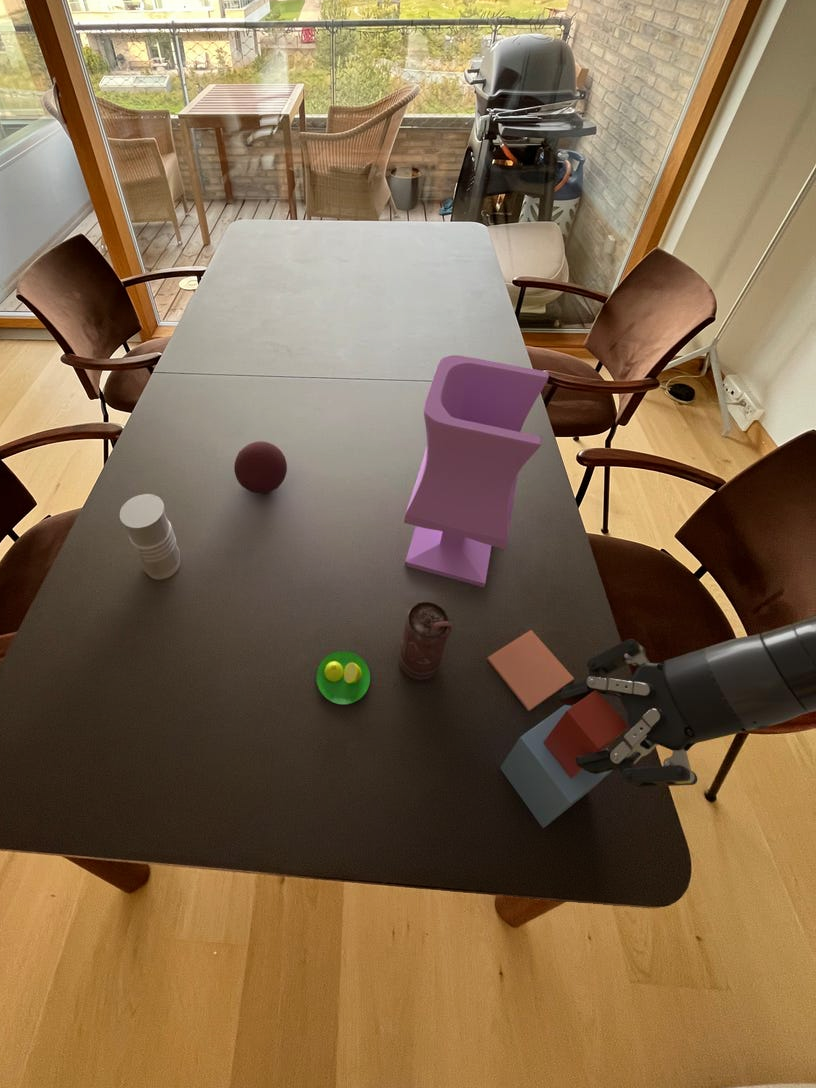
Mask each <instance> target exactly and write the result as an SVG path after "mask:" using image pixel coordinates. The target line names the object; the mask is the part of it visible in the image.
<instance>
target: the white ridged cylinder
mask: <svg viewBox="0 0 816 1088" xmlns="http://www.w3.org/2000/svg"><path fill="white" fill-rule="evenodd" d="M165 510H166V509H165V504H164V501H163V500H162V498H160V496H157V495H156V494H151V493H143V494H139V495H136V496H133V497H131V498H129V499H128V500H127V501H126V502H125V503H124V504H123V505H122V507H121V508H120V510H119V511H120V512H119V519H120V522H121V524H122V525H123V526H125V529H126V531H127V533H128V542H129V543H130V546H131V548H132V551H133V553H134V556H135V557H136V560H138V562H139V565H140V567H141V569H142V571H144V572H145V573H146V574H147V576H149V578H151V579H154V580H165V579H168V578H170V577H172V576H173V575H175V574H176V573H177V571H178V570H179V568H180V565H181V551H180V547H179V546H178V543H177V538H176V535H175V532H174V529H173V525H172V524H171V522H170V520H169V519H168V518H167V514H166V511H165Z"/></svg>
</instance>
